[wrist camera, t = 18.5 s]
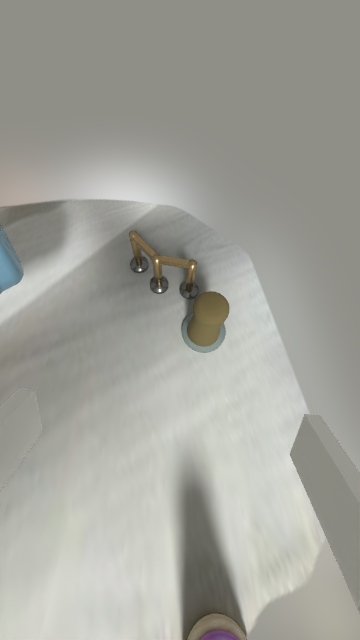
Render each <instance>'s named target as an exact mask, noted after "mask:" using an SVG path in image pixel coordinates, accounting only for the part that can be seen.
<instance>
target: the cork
mask: <svg viewBox="0 0 360 640" xmlns="http://www.w3.org/2000/svg"><path fill="white" fill-rule="evenodd" d="M193 312H194V315H193V317H192V318H191V320H190V322H189V324H188V326H187V335H188V337H189V339H190V340H191V342H193V343H194V344H195V345H198V346H202V347H206V346H210V345H212V344H214V343H215V342H216V341H217V339H218V337H219V334H220V329H221V323H223V322H224V321H225V320H226V318H227V317H228V314H229V304H228V301H227V300H226V298H225V297H224V296H222V295H221V294H220V293H217V292H205V293H203V294H201V295H200V296H199V297H198V298H197V299H196V301H195V303H194V308H193Z"/></svg>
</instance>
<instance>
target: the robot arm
mask: <svg viewBox="0 0 360 640" xmlns="http://www.w3.org/2000/svg"><path fill="white" fill-rule="evenodd" d="M22 277H23V268H22V265H21V263H20V260H19V258H18V256H17V254H16V252H15V250H14V248H13V246H12V245H11V243H10V241H9V239H8V237H7V236H6V234H5V232H4V231H3V229H2V227H1V226H0V294H1V293H2V291H4V290H6V289H8V288H10V287H12V286H14V285H16V284H17V283H19V282H20V280H21V279H22ZM42 432H43V429H42V423H41V418H40V413H39V407H38V402H37V397H36V391H35V389H28V388H19V389H17V390H16V391H15V392H14V393H13V394H12V395H11V396H10V397H9V398H8V399H7V400H6V401H5V402H4V403H3V404H2V405H1V406H0V491H1V490H2V488H3V487H4V485H5V484H6V483H7V481H8V480H9V478H10V477H11V475H12V474H13V473H14V471H15V470H16V468H17V467H18V466H19V464H20V463H21V461H22V460H23V459H24V457H25V456H26V454H27V453H28V452H29V450H30V449H31V447H32V446H33V445H34V443H35V442H36V440H37V439H38V438H39V436H40V435H41V433H42ZM290 456H291V458H292V461H293V463H294V465H295V467H296V470H297V472H298V474H299V476H300V479H301V481H302V483H303V486H304V488H305V490H306V492H307V495H308V497H309V499H310V501H311V504H312V506H313V508H314V511H315V513H316V515H317V517H318V520H319V522H320V524H321V526H322V529H323V531H324V533H325V536H326V538H327V540H328V542H329V544H330V547H331V549H332V551H333V554H334V556H335V558H336V561H337V563H338V565H339V567H340V570H341V572H342V574H343V576H344V579H345V581H346V583H347V586H348V588H349V590H350V592H351V595H352V597H353V599H354V601H355V604H356V606H357V608H358V610H359V613H360V472H359V471H358V469H357V468H356V466H355V465H354V464H353V462H352V461H351V459H350V458H349V456H348V455H347V453H346V452H345V450H344V449H343V448H342V446H341V445H340V443H339V442H338V440H337V439H336V437H335V436H334V435H333V433H332V432H331V430H330V429H329V427H328V426H327V424H326V423H325V422H324V420H323V419H322V417H321V416H318V415H308V414H305V415H304V418H303V420H302V423H301V426H300V428H299V431H298V434H297V436H296V439H295V442H294V444H293V447H292V450H291V452H290Z"/></svg>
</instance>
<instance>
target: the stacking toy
mask: <svg viewBox="0 0 360 640" xmlns="http://www.w3.org/2000/svg"><path fill="white" fill-rule="evenodd" d="M187 640H247V639H246V637H245V635H244V633H243V631H242V630H241V628H240V627H239V626H238V625H237V624H236V623H235V622H234V621H233V620H232V619H231V618H229V617H227V616H225V615H223V614H217V613H215V614H209V615H206V616H204V617H203V618H201V619H200V620H199V621H198V622H197V623H196V624H195V625H194V627H193V628H192V630H191V632H190V634H189V636H188V639H187Z"/></svg>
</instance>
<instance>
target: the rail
mask: <svg viewBox="0 0 360 640" xmlns="http://www.w3.org/2000/svg"><path fill="white" fill-rule="evenodd" d="M129 237H130V241H131V246H132V250H133V254H134V258H133V259H132V260H131V263H130V265H131V268H132V270H133V271H134V272H137V273H141V272H144V271H146V270H147V268H148V261H147V259H146V258H144V257H141V252H140V248H141V249H142V250H143V251H144V252H145V253H146V254H147V255H148V256H149V257H150V258H151V259H152V260H153V267H154V275H155V278H153V279H152V280H151V282H150V288H151V290H152V291H153V292H154V293H157V294H161V293H164V292H165V291H166V290H167V289H168V281H167V280H166V279H165V278H164V277H162V266H161V264H163V265H169V266H175V267H181V268H187V269H188V271H187V280H186V282H184V283H183V284H182V285H181V286H180V294H181V295H182V296H183V297H184V298H187V299H191V298H194V297H195V296H196V295H197V293H198V287H197V285H196V284H195V283H194V278H195V272H196V266H197V262H196V261H195V260H186V259H180V258H174V257H168V256H162V255H159V254H157V253H156V252H155V251H154V250H153V249H152V248H151V247H150V246H149V245H148V244H147V243H146V242H145V241H144V240H143V239H142V238H141V237H140V236H139V235H138V234H137V232H136V231H130V232H129Z"/></svg>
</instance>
